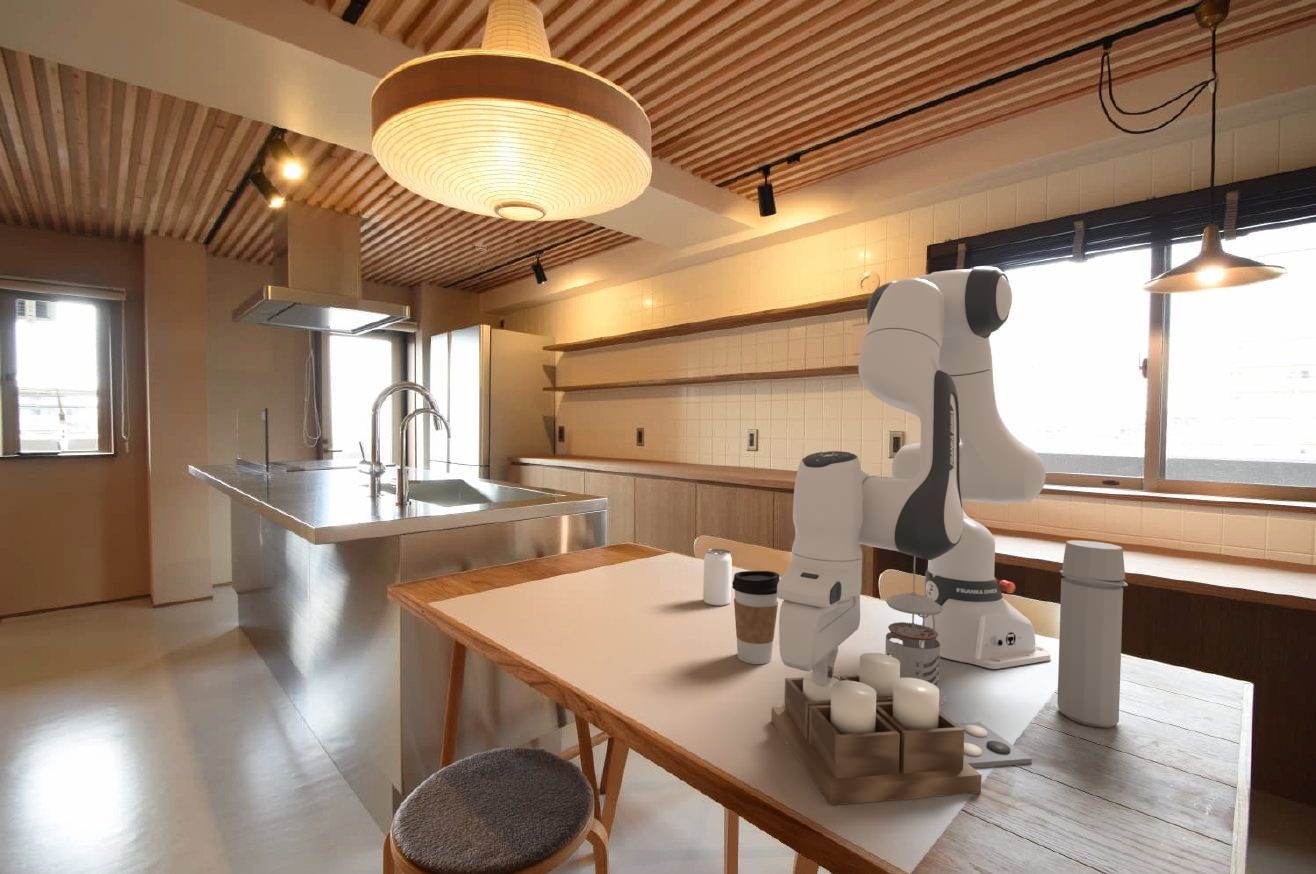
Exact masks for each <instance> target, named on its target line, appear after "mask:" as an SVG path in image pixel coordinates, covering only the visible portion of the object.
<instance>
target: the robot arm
mask: <svg viewBox="0 0 1316 874" xmlns="http://www.w3.org/2000/svg"><path fill="white" fill-rule="evenodd" d="M1012 301H1013V293H1012V288H1011V285H1010V282H1009V279H1008V276H1007V275H1006V274H1005V272H1003V271H1002V270H1001V269H999V267H995V266H994V267H993V266H974V267H973V268H970V269H969V268H968V269H967V268H966V269H965V268H964V269H963V268H962V269H950V270H941V271H933V272H931V273H929V274H923V275H920V276H919V275H918V276H915V277H911V278H909V277H908V278H903V279H900V280H894V281H890V282H887V283H885V284H882V285H880V286H879V287H877V288H876V289H875V291H874V292H873V293H872V295H871V296H870V297H869V300H868V302H867V307H866V319H867V324H868V325H867V328H866V331H865V334H864V338H863V342H862V344H861V349H860V353H859V358H858V374H859V378H860V380H861V383H862V384H863V386H864V387H865V389H866V390H867V391H868V392H869V393H870V394H872V395H873V396H874V397H875V398H876V399H878V400H880V401H881V402H883V403H885V404H887V405H888V406H891V407H894V408H896V409H900V410H903V411H905V412H908V413H910V414H912V415H915V416H916V417H918V418H919V421H920V442H915V443H910V444H904V445H903V446H901V448H899V449H898V451H897V452H896V454H895V455H894V457H893V460H892V463H891V475H892V477H893V478H892V477H880V476H874V475H869V474H868V473H866V472H865V471H863V470H862V468H861V462H860V458H859V457H858V455H856V454H854V453H851V452H848V451H841V450H840V451H839V450H838V451H836V450H832V451H830V450H829V451H819V452H814V453H811V454H808V455H806V456H805V457H803V458H802V459H800V461H799V464H798V468H797V472H796V476H795V483H794V489H793V498H792V499H793V501H792V503H793V504H792V522H793V525H794V530H795V533H794V534H795V536H794V540H793V543H792V546H791V547H792V548H791V561H790V562H789V565H788V567H787V569H786V571H785V572H784V574H783V575H782V576H781V578H779V580H780V581H779V582H778V585H777V599H780V600H783V601H782V602H781V604H780V607H779V615H778V616H779V618H778V630H779V631H778V642H779V643H778V644H779V656H780V659H781V661H782V663H783V664H784V666H786V667H790V668H793V669H797V670H800V671H802V672H810V671H812V675H813V682H814V683H815V684H818V685H821V686H825V685H826V684H827V683H828V682H829V681H830V680H831V679H832V678H833V676H835V675H834V672H835V671H834V670H835V663H836V660H837V656H838V653H839V646H840V645H842V644H843V643H844V642H845V641H846V640H847V639H848V638H850V637H851V636H852V635H853V634H854V633H855V632H857V631H858V630H859V628H860V627H859V626H860V622H861V593H862V574H863V572H862V571H863V551H862V548H861V545H865V546H867V547H872V548H873V547H874V548H879V549H884V550H889V551H896V552H900V553H902V554H905V555H908V556H912V557H914V556H915V557H916V558H920V559H923V560H927V561H928V562H927V563H928V564H927V569H926V571H925V579H924V594H925V595H924V596H926V597H928V598H931V599H932V600H934V601H935V602H936V603H938V604H939V605H940V606H941V607H942V608H943V609H942V611H941V612H940V613H939V614H936V615H934V620H935V631H936V632H937V633H938V636H937V637H936V640H937V641H938V642H939V643H940V653H939V655H940V658H943V659H944V658H945V659H947V660H952V661H956V662H961V663H967V664H972V665H976V666H980V667H983V668H987V669H991V670H998V669H1004V668H1011V667H1016V666H1017V667H1018V666H1023V665H1024V666H1025V665H1028V664H1035V663H1042V662H1048V661H1051V660H1052V659H1051V653H1049V651H1048V650H1047V649H1045V648H1044V647H1042V646H1041V645H1039V644H1038V643H1036V635H1035V633H1036V632H1035V629H1034V627H1033V624H1032V622H1031V621H1030V620H1029V619H1028V618H1027V617H1026V616H1025V615H1023V613H1021V612H1020V611H1019V610H1017V609H1016V608H1015V607H1014V606H1013V605H1012V604H1010V603H1009V602H1008V601H1007V600H1006V599H1004V598H1003V594H1002V592H1007V593H1008V594H1012V593H1014V592H1015V591H1016V585H1015V583H1014V582H1012V581H1008V580H1005V579H1002V580H999V579H998V578H997V577H995V563H996V559H995V557H996V541H995V536H993V534H992V532H991V531H990V530H989V529H988V528H987V527H986V526H984V525H983V524H981V523H979V522H978V521H976V520H974V519H972V518H971V517H969V516H968V514H966V512H965V511H964V508H963V503H962V502H972V503H981V504H982V503H983V504H984V503H985V504H993V505H1009V504H1011V505H1013V504H1024V503H1031V502H1032V501H1033V500H1034V499H1036V498H1037V496H1038V495H1039V494H1040V493H1041V491H1042V490H1043V488H1044V486H1045V483H1046V479H1047V478H1046V477H1047V475H1046V474H1047V473H1046V467H1045V464H1044V462H1043V460H1042V458H1041V457H1040V455H1039V454H1038V453H1037V452H1036V451H1035V450H1033V449H1032V448H1031V447H1029V446H1027V445H1026V444H1024V443H1023V442H1021V441H1020V440H1019V439H1018V438H1016V436H1014V434H1013V433H1011V431H1010V430H1009V429H1008V428H1007V426H1006V425H1005V423H1004V422H1003V420H1002V418H1001V415H1000V413H999V409H998V406H997V400H996V396H995V387H994V369H993V356H992V355H993V354H992V348H991V342H990V338H989V337H991V335H992V333H994V332H996V331H998V330H999V329H1000V328H1001V327H1002V326H1003V325H1004V324H1005V323H1006V321H1007V320H1008V318H1009V316H1010V311H1011V308H1012ZM960 441H961V442H960ZM924 616H927V615H924ZM924 621H925V625H924V626H925V627H926V626H927V627H928V628H931V629H933V618H932V615H929V616H928V617H927V618H924ZM921 625H923V621H922V623H921ZM920 642H921V640H919V645H920ZM920 649H924V641H922V644H921V647H920Z"/></svg>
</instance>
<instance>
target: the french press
mask: <svg viewBox="0 0 1316 874" xmlns="http://www.w3.org/2000/svg"><path fill="white" fill-rule="evenodd" d="M916 558H917V557H915V556H913V579H912V580H913V582H912V583H913V584H912V587H913V588H912V592H905V593H899V594H894V595H892V596H889V597H888V598H886V600H885V603H886V604H887V605H888V607H889V608H891V609H893V610H896V611H899V612H900V613H905V614H910V615H912V616H911V618H912V620H911V622H906V621H905V622H904V621H901V622H900V621H899V622H893V623H891V624H889V625H888V627H887V628H888V630H889V631H890V632H887V633H886V635H885V653H884V654H885V655H889V656H892V657H894V658H896V659H897V660H899V661H900V678H916V679H921V680H924V681H927V682H930V683H932V684H933V685H935V686H936V687H937V688H938V689H939V706H940V705H942V704H945V703H946V702H945V701H946V699H947V698H946V696H945V694H944V693H943V691H942V690H941V689H940V666H941V665H940V663H939V662H940V659H941V657H940V655H939V653H940V643H939V642H938V641H937V640H936V637H937V636H938V633H937V632H936V631H935V620H934V615H936V614H939V613H940V612H941V611H942V609H943V608H942V607H941V606H940V605H939V604H938V603H936V602H935V601H934V600H932V599H931V598H928V597H926V595H924V594H918V593H916V591H915V590H916V589H915V587H916V584H915V582H916ZM915 615H917V616H919V618H922V622H923V625H922V624H919V623H918V624H917V622H916V623H915V620H914V619H915ZM924 615H927V616H924ZM929 615H932V618H933V629H931V628H928V627H927V626H926V627H925V626H924V625H925V621H924V618H927V617H928V616H929ZM891 639H896V640H899V641H901V642H902V643H899V642H893V641H892V640H891ZM919 640H921V642H920V645H919ZM922 641H924V649H923V648H921V644H922ZM919 664H921V665H923V667H919V666H920V665H919ZM919 673H921V674H923V675H922V676H921V675H919Z"/></svg>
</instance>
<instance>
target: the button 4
mask: <svg viewBox="0 0 1316 874" xmlns="http://www.w3.org/2000/svg"><path fill="white" fill-rule="evenodd" d="M939 689H940V688H939ZM939 689H938V688H937V687H936V686H935V685H933V684H932V683H930V682H927V681H924V680H921V679H916V678H898V679H896V680H894V682H893V717H892V718H893V719H894V720H895V721H896V722H897V723H899V724H900V725H901V726H902V727H903V728H904V729H905V730H907V731H908V730H923V729H938V720H939V711H940V708H939V707H940V705H939Z"/></svg>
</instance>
